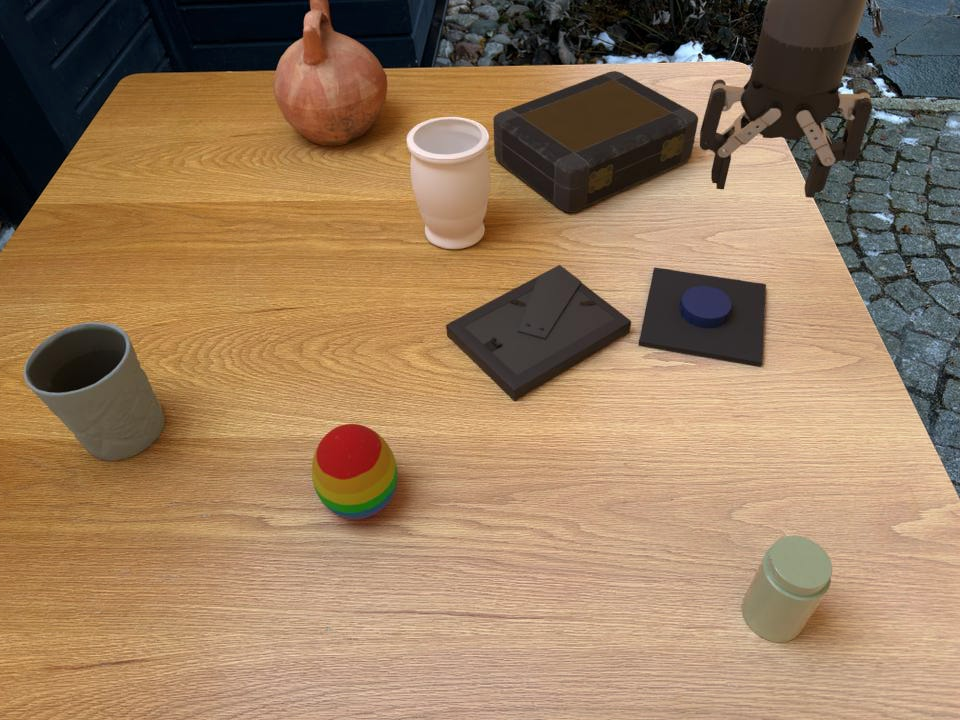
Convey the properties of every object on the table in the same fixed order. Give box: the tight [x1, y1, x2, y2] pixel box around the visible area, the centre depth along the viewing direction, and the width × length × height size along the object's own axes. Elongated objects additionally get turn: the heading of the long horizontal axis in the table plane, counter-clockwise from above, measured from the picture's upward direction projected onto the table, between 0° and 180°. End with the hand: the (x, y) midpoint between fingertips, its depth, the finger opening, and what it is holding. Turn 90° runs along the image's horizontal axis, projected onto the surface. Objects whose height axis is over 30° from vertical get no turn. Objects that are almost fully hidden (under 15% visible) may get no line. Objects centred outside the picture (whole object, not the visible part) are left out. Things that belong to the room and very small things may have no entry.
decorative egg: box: [311, 423, 399, 520], centre depth 72 cm, size 8×8×10 cm
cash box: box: [493, 70, 699, 213], centre depth 114 cm, size 25×20×8 cm
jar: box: [406, 116, 492, 250], centre depth 100 cm, size 11×10×15 cm
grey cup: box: [23, 321, 165, 462], centre depth 78 cm, size 10×10×12 cm
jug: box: [272, 0, 388, 147], centre depth 119 cm, size 18×18×20 cm
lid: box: [679, 286, 732, 328], centre depth 91 cm, size 6×6×2 cm
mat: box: [638, 267, 767, 368], centre depth 91 cm, size 14×14×1 cm
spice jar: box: [741, 535, 833, 643], centre depth 62 cm, size 5×5×9 cm
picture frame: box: [445, 264, 632, 402], centre depth 90 cm, size 13×2×18 cm
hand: (764, 189), depth 75 cm, fingers open, 8 cm apart
